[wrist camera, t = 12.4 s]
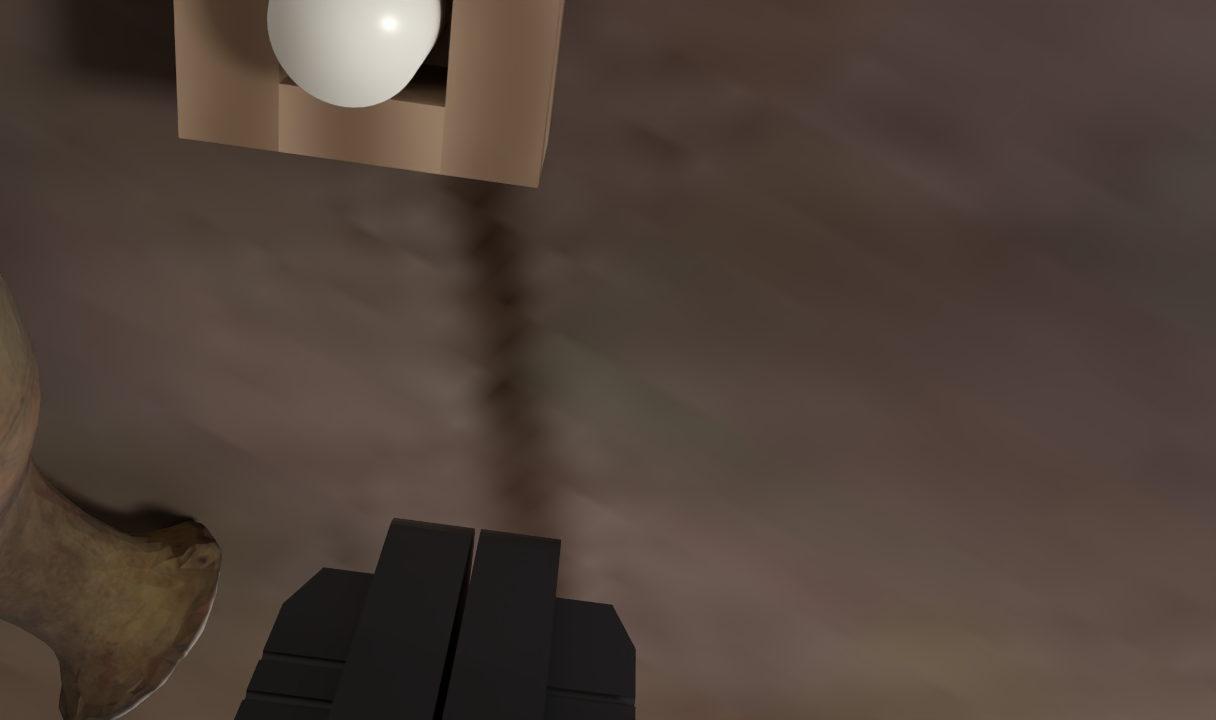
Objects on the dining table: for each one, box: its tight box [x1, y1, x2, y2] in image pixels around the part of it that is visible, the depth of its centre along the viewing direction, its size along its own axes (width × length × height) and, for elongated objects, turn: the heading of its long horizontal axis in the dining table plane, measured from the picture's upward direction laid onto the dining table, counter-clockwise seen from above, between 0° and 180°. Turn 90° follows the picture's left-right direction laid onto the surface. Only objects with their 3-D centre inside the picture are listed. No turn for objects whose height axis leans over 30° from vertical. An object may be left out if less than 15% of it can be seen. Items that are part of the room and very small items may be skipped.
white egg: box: [267, 0, 453, 108], centre depth 36 cm, size 5×5×6 cm
